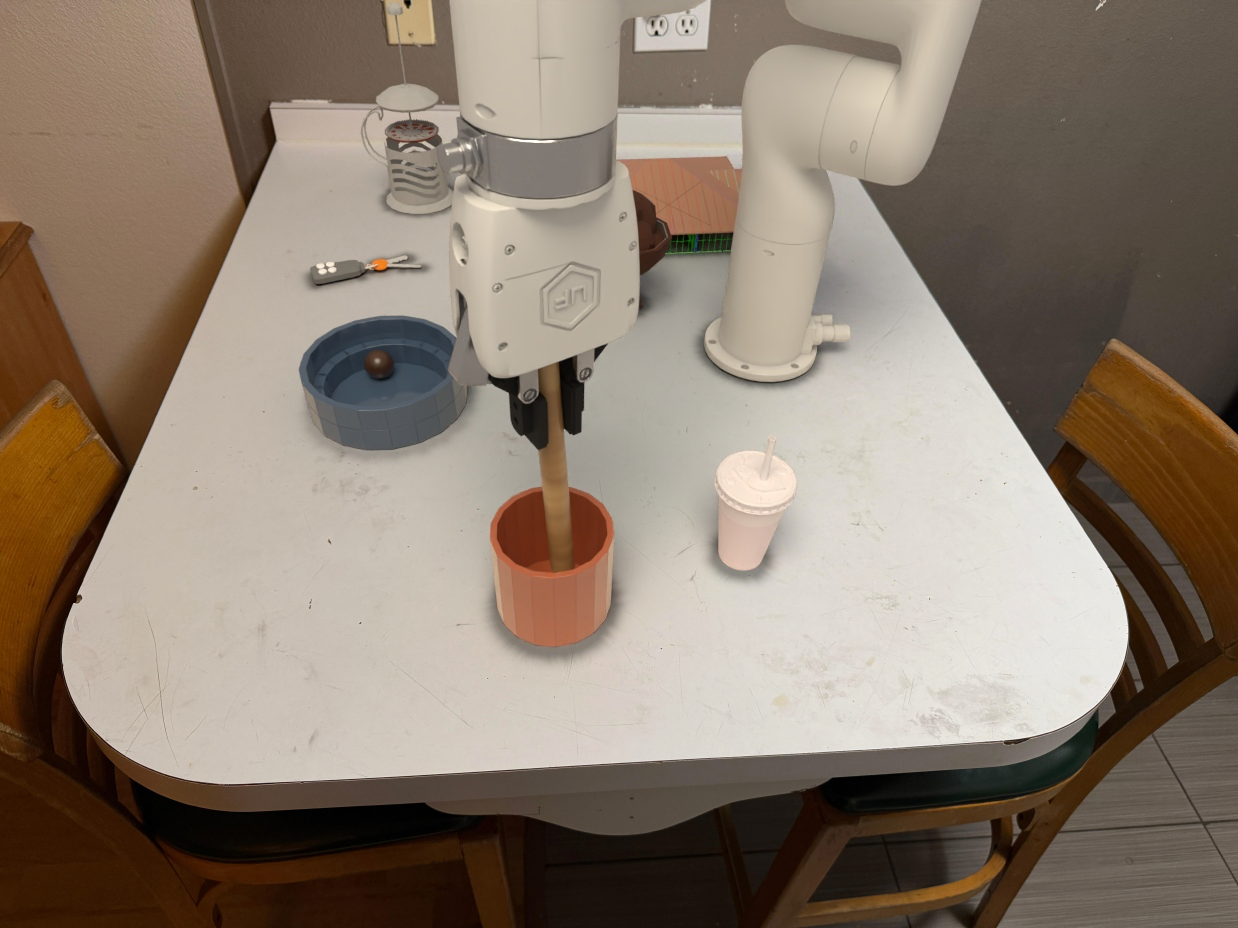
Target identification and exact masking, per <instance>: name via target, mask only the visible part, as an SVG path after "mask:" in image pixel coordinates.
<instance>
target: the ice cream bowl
mask: <svg viewBox="0 0 1238 928" xmlns="http://www.w3.org/2000/svg"><path fill="white" fill-rule="evenodd" d="M632 191H633V197H634V203H635V209H636V217H637V226H638V240H639V264H640V276H644V275H645V274H646V273H648V272H649V271H650V270H652V269H653V268H654V267H655V266H656V265H657V264H658V263H660V262H661V260H662V259H663V258H664V257H665V255H667V254H666V253H668V251H669V250H670V243H672V242H671V241H672V239H673V235H672V236H671V233H670V230H669V227H668V224H667V222H665V221H663V220H661V219H659V218H657V217H656V207H655V205H654V204H653V203H652V202H651V201H650V200H649V199H647V198H646V197H645V196H644V195H643V194H641V193H639V192H637V191H635V190H632ZM641 308H643V302H642V297H641V294H639V309H638V311H640V309H641Z"/></svg>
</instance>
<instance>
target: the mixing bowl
mask: <svg viewBox="0 0 1238 928" xmlns="http://www.w3.org/2000/svg"><path fill="white" fill-rule="evenodd" d="M456 338H457V336H456V335H454V334H453V333H452V332H450V331H449V330H448V329H447V328H446V327H444V326H443V325H441V324H438V323H436V322H434V321H431V320H428V319H426V318H421V317H415V316H409V315H402V314H401V315H377V316H369V317H365V318H360V319H355V320H352V321H350V322H347V323H344V324H342V325H339V326H336V327H334V328H332V329H331V330H329V331H327V332H325V333H324V334H322V335H321V336H319V337H318V338H316V339H315V340H314V341H313V342H312V344H311V345H310V346H309V347H308V348H307V349H306V350H305V352H303V355H302V357H301V360H300V364H299V366H298V374H299V378H300V383H301V387H302V390H303V394H304V396H305V400H306V404H307V406H308V410H309V413H310V417H311V420H312V423H313V424H314V425H315V427H316V428H317V429H318V430H319V431H320V433H322V435H323V436H325V438H328V439H330V440H332V441H334V442H336V443H338V444H339V445H341V446H344V447H349V448H355V449H360V450H365V451H382V450H383V451H384V450H385V451H386V450H396V449H401V448H405V447H409V446H413V445H418V444H421V443H422V442H425V441H427V440H429V439H431V438H433V437H435V436H437V435H440V434H441V433H443V432H444V431H445V430H446V429H447V428H449V427H450V426H451V425H452V424H454V422H456V421H457V420H458V418H459V417H460V415H461V414H462V411H463V409H464V408H465V407H466V405H467V399H468V397H467V396H468V386H463V385H460V384H459V383H458V382H457V381H456V380H455V379H454V378H453V376H452V375H451V374H450V373H449V371H448V367H449V363H450V359H451V356H452V352H453V349H454V345H455V342H456ZM374 350H383V351H385V352H387V353H389V354H390V355H391V357H392V358H393V361H394V369H393V372H392V373H391V374H390V375H389V376H388V377H386V378H384V379H375V378H373V377H371V376H370V375H368V373H367V372H366V370H365V368H364V360H365V358H366V356H367V355H368V354H369V353H370V352H372V351H374Z"/></svg>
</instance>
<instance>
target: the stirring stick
mask: <svg viewBox="0 0 1238 928" xmlns="http://www.w3.org/2000/svg"><path fill="white" fill-rule="evenodd" d="M538 385H539V392H540V393H541V394H542V395H543V396H544V397H545V398H546V400H547V405H548V442H549V443H548V444H547V447H545V448H543V449H540V450H538V449H537V451H538V452H537V453H538V461H539V462H538V463H539V471H540V480H541V487H542V491H543V501H544V510H545V520H546V529H547V539H548V548H549V558H550V567H551V570H552V571H553V572H554V573H556V572H562V571H567V570H573V569H574V566H575V561H574V549H573V536H572V523H571V511H570V498H569V487H570V486H569V475H568V462H567V449H566V437H565V429H564V422H563V410H562V397H561V384H560V372H559V362H556V363H553V364H551V365H548V366H545V367H542V368H539V369H538Z"/></svg>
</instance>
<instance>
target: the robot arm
mask: <svg viewBox="0 0 1238 928" xmlns="http://www.w3.org/2000/svg"><path fill="white" fill-rule="evenodd" d="M448 1H449V13H450V22H451V23H450V24H451V31H452V32H451V33H452V43H453V53H454V63H455V74H456V75H455V76H456V84H457V85H456V86H457V95H458V103H459V104H458V105H459V116H456V118H455V119H456V127H457V128H456V129H457V135H456V137H454V138H452V139H451V140H450V142H447V143H442V145H439V146H438V147H437V157H438V161H439V164H440V167H441V169H442V171H443V172H444V173H445V174H446V176H448V175H452V174H456V173H459V174H460V175H458V176H456V178H455V181H454V187H453V192H454V193H453V200H452V205H451V210H450V220H449V221H450V222H449V237H448V238H449V241H448V252H449V253H448V269H449V271H448V272H449V274H448V275H449V291H450V292H449V293H450V306H451V307H450V308H451V316H452V324H453V328H454V333H455V337H456V342H455V345H454V349H453V352H452V356H451V359H450V363H449V367H448V371H449V373H450V374H451V375H452V376H453V378H454V379H455V380H456V381H457V382H458V383H459V384H460V385H463V386H467V387H468V386H470V387H471V386H476V387H477V386H479V387H480V386H481V387H482V386H487V385H493V386H494V387H495V388H497V389H499V390H501V391H503V392H505V393H508V403H509V417H510V423H511V426H512V428H513V430H514V431H515V432H516V433H517V434H518V436H520V437H523V436H525V437H526V439H527V440H528V441H529V442H530V443H531V444H532V445H533V447H534V448H535V449H536V450H537V451H538V450H540V449H543V448H545V447H547V444H548V443H549V442H548V405H547V400H546V398H545V397H544V396H543V395H542V394H541V393H540V392H539V385H538V369H539V368H542V367H545V366H548V365H551V364H553V363H556V362H559V372H560V384H561V397H562V410H563V422H564V431H565V432H567V433H568V435H572V436H576V435H579V434H581V433H582V432H583V431H582V430H583V412H584V411H585V388H586V387H585V384H586V382H588V381H590V380H591V378H592V377H593V375H594V372H595V362H596V361H597V359H598V358H599V357H600V355H601V354H602V353H603V352H604V350H606V347H607V346H608V345H609V344H610V343H613V342H614V341H618V340H619V339H620V338H622V337H624V336H625V335H627V334H628V333H630V332H631V331H632V329H634V327H635V325H636V323H637V321H638V316H639V310H640V309H639V295H640V290H641V289H640V286H641V282H640V280H641V279H640V278H641V275H640V264H639V240H638V226H637V217H636V209H635V203H634V197H633V191H632V185H631V180H630V175H629V171H628V168H627V167H626V166H625V165H624V164H623V163H621V162H619V161H618V160H619V159H617V145H618V143H617V141H618V120H619V119H618V116H619V112H618V111H619V87H620V85H619V84H620V82H619V81H620V60H621V59H620V58H621V35H622V34H621V30H622V25H623V24H624V22H625V21H627V20H629V19H636V18H644V17H652V16H653V17H654V16H664V15H672V14H679V13H683V12H687V11H690V10H692V9H694V8H696V7H699V6H700V5H702V4H703V3H705V2H706V1H707V0H448ZM784 3H785V8H786V10H787V11H788V13H789V15H790V16H791V17H792V18H793V19H794V20H796V21H798V22H799V23H801V24H803V25H805V26H809V27H811V28H815V29H818V30H823V31H825V32H832V33H835V34H840V35H844V36H845V35H846V36H850V37H855V38H860V39H864V40H870V41H875V42H880V43H884V44H887V45H888V44H889V45H893V46H894V47H896V48H897V49H898V51H899V53H900V64H897V63H893V62H888V61H883V60H879V59H873V58H868V57H865V56H864V57H863V56H860V55H859V54H856V53H855V54H854V53H850V52H844V51H841V50H835V49H829V48H824V47H821V46H820V47H819V46H814V45H809V44H808V45H807V44H783V45H780V46H779V45H778V46H776V47H773V48H771V49H769V50H767V51H766V52H765V53H763V54H761V55H760V56H759V57H758V58H757V59H756V61H755V62H754V63H753V64H752V66H751V68H750V70H749V72H748V73H747V76H746V79H745V82H744V85H743V91H742V98H741V112H740V113H741V140H742V141H741V142H742V143H741V145H742V147H741V148H742V155H741V157H742V159H741V160H742V161H741V169H742V173H741V183H740V192H739V200H738V206H737V213H736V220H735V227H734V232H732V233H733V234H732V238H733V239H731V240H732V241H731V247H730V250H731V251H730V255H729V262H728V269H727V275H726V283H725V289H724V296H723V303H722V310H721V316H719V317H718V318H715V319H714V320H713V321H711V322H710V323H709V324H708V326H707V327H706V330H705V333H704V338H703V339H704V340H703V346H704V351H705V353H706V355H707V357H708V358H709V359H710V360H711V361H712V363H714V364H715V365H716V366H717V367H718V368H720V369H722V370H723V371H725V372H726V373H728V374H730V375H733V376H735V377H737V378H740V379H744V380H747V381H752V382H753V381H754V382H759V383H760V382H762V383H777V382H778V383H779V382H785V381H789V380H793V379H795V378H798V377H800V376H801V375H804V374H805V373H807V372H808V371H809V370H810V369H811V368H812V367H813V365H814V363H815V361H816V357H817V353H818V346H820V345H822V343H823V342H831V343H848V342H849V341H850V339H851V327H850V325H849V324H848V323H847V324H846V323H843V324H833V322H834V317H833V315H832V314H816V315H815V314H813V313H812V312H813V308H814V304H815V299H816V296H817V291H818V287H819V283H820V278H821V274H822V271H823V270H822V269H823V266H824V262H825V261H824V260H825V258H826V257H825V256H826V253H827V249H828V244H829V240H830V235H831V231H832V228H833V224H834V219H835V210H836V203H835V194H834V190H833V185H832V182H831V180H830V177H829V174H828V172H827V171H829V172H832V173H836V174H840V175H843V176H848V177H851V178H855V179H859V180H863V181H867V182H870V183H874V184H877V185H878V184H879V185H884V186H892V187H894V186H895V187H897V186H902V185H907V184H909V183H910V182H911V181H913V180H915V179H916V177H918V176H919V175H920V173H921V172H922V171H923V169H925V166H926V164H927V162H928V160H929V158H930V156H931V155H932V152H933V149H934V147H935V144H936V142H937V139H938V136H939V133H940V130H941V127H942V124H943V122H944V118H945V115H946V112H947V108H948V105H949V102H950V99H951V96H952V93H953V90H954V87H955V84H956V81H957V78H958V74H959V71H960V69H961V65H962V62H963V60H964V56H965V53H966V51H967V47H968V44H969V41H970V38H971V35H972V32H973V29H974V26H975V22H976V20H977V17H978V14H979V10H980V6H981V3H982V0H784ZM638 309H639V310H638Z"/></svg>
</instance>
